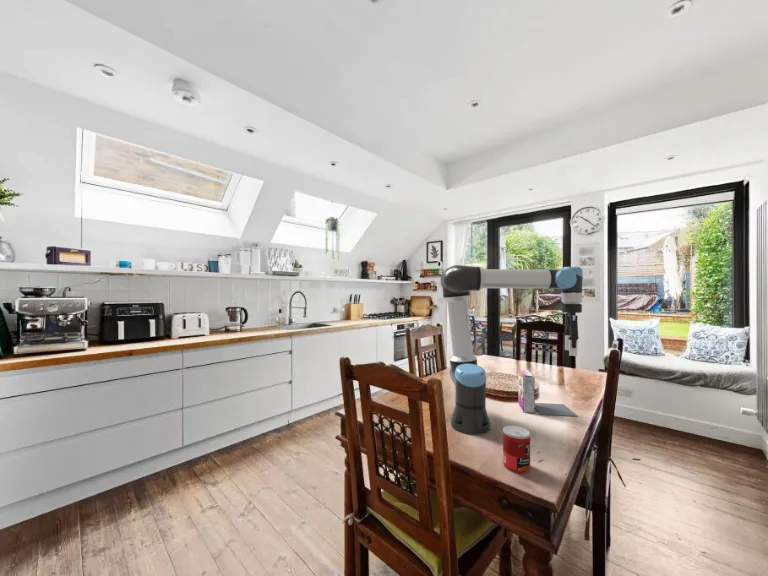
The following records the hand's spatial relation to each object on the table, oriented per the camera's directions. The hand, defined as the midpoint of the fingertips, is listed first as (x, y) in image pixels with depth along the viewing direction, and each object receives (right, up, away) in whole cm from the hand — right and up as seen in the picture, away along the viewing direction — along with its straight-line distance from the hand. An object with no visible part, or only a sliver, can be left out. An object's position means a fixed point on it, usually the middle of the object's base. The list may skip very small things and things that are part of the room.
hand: (570, 352), depth 137 cm
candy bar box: (-15, -28, +10) cm, 33 cm away
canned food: (-39, -27, -38) cm, 61 cm away
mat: (-3, -28, +9) cm, 29 cm away
